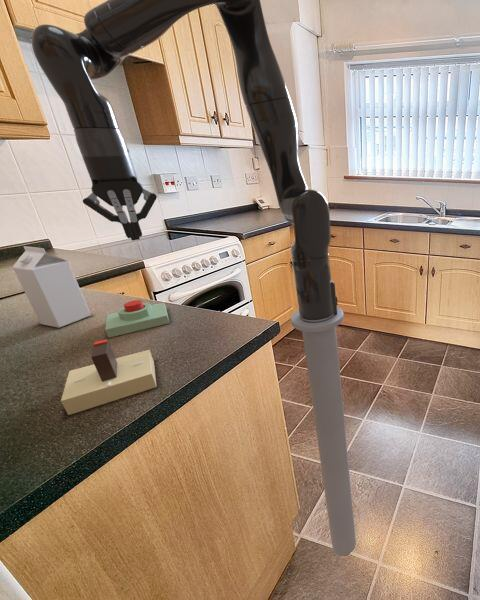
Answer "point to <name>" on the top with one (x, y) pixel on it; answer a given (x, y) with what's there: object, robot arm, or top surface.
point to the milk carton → (50, 288)
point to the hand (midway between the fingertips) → (136, 239)
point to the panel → (108, 383)
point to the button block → (136, 319)
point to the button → (133, 306)
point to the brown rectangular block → (104, 360)
